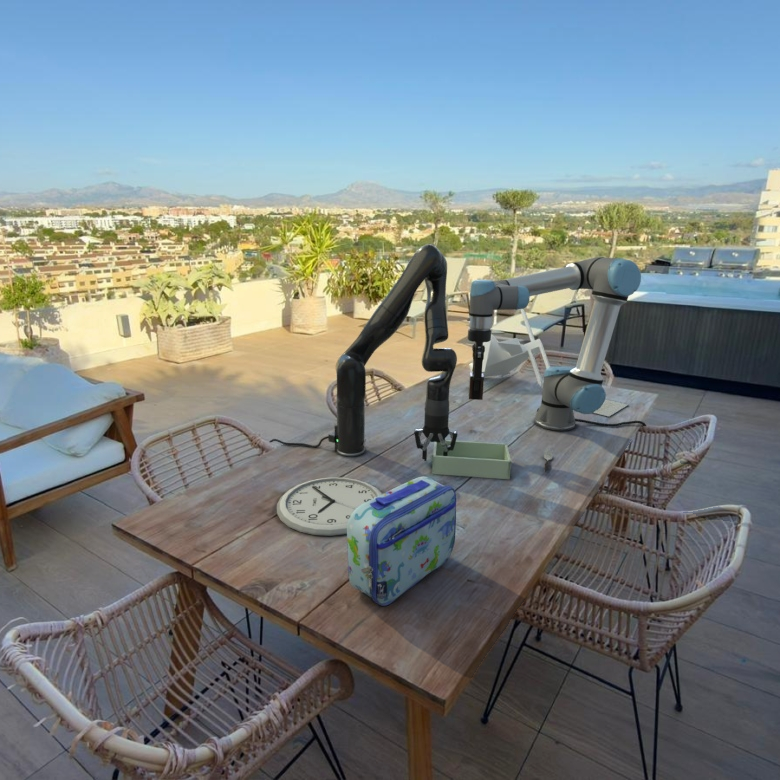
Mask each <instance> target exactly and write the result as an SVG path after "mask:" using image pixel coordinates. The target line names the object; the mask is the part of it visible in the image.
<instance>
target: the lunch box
mask: <svg viewBox="0 0 780 780" xmlns="http://www.w3.org/2000/svg"><path fill="white" fill-rule="evenodd" d="M456 524H457V494H456V490H455V488H454V487H453V486H451V485H444V484H441V483H440V482H438V481H436V480H434V479H432V478H431V477H428V476H422V475H421V476H419V477H416V478H413V479H411V480H408V481H407V482H404V483H402V484H400V485H398V486H396V487H394V488H392V489H390V490H388V491H386V492H383V494H381V495H380V496H378V497H376V498H374V499H372V500H370V501H368V502H365V503H363V504H362V505H360V506H358V507H357V508H356V509H355V510H354V511H353V513H352V514H351V516H350V518H349V521H348V525H347V534H346V545H347V546H346V548H347V570H348V572H347V573H348V581H349V583H350V585H351V587H353V588H354V589H356V590H358V591H361V592H362V593H364V594H365V595H366V596H368V597H369V598H371V599H372V601H373V602H374V603H375V604H378V605H379V606H383V607H386V606H388V605H390V604H392V603H394V601H396V600H397V599H398V598H399V597H400V596H402V595H403V594H404V593H406V592H407V591H408V590H410V589H411V588H413V587H414V586H415V585H417V584H418V583H419V582H421V580H422V579H424V577H426V576H427V575H430V573H432V572H434V571H435V570H436V569H438V568H440V567H441V566H442V565H444V563H446V562H447V561H448V559H449V558H450V556H451V554H452V552H453V549H454V546H455V542H456V529H457V525H456Z"/></svg>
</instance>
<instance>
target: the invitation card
mask: <svg viewBox="0 0 780 780" xmlns="http://www.w3.org/2000/svg"><path fill="white" fill-rule="evenodd" d="M628 406H629V404H627V403H623V402H618V401H614V400H609V399H606V398H605V401H604V403H603V405H602V406H601V407H600V408H599V409H598V410H596V411H595V412H593V413H592V414H596V415H600V416H604V417H608V418H609V417H611V416H613V415H614V414H616V413H617V412H619V411H621V410H623V409H624V408H626V407H628Z"/></svg>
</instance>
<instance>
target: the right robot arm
mask: <svg viewBox="0 0 780 780" xmlns="http://www.w3.org/2000/svg"><path fill="white" fill-rule="evenodd" d="M641 282H642V273H641V270H640V269H639V266H638V265H637V264H636V262H634V261H632V260H631V259H626V258H621V257H606V256H605V257H604V256H595V257H592V258H587V259H582V260H579V261H575V262H570V263H568V264H567V265H566V266H565V267H564V266H563V267H560V268H555V269H550V270H545V271H540V272H536V273H535V272H534V273H530V274H526V275H520V276H516V277H510V278H506V279H500V280H496V281H494V280H493V279H474V280H473V281H471V285H470V292H469V313H468V317H467V318H466V321H467V322H468V327H469V328H467V329H468V330H467V340H468V341H469V342H472V343H473V342H474V343H473V344H472V347H471V349H472V350H471V351H472V363H473V369H472V372H473V373H474V375H473V379H471V381H473V382H472V398H471V399H470V400H475V401H476V400H477V401H481V400H480V388H481V380H482V378H481V377H482V363H483V359H484V352H485V346H484V345H483V342H489V341H490V340H491V334H492V328H493V318H494V316H493V315H494V311H500V310H501V311H502V310H503V311H509V310H510V311H511V310H512V311H514V310H515V311H517V310H520V309H524V310H525V309H526V308H527V307H528V305H529V304H530V297H532V296H533V297H534V296H539V295H542V294H548V293H553V292H557V291H563V290H568V289H570V290H571V291H575V290H592V292H591V298H592V299H593V304H592V307H591V308H592V309H591V312H590V316H589V319H588V323H587V327H586V330H585V333H584V336H583V340H582V344H581V348H580V350H579V355H578V358H577V361H576V365H575V367H573V366H558V365H557V366H550V367H549V368H546V369H545V370H544V373H543V389H542V394H541V402H540V405H539V407H538V408H537V410H536V413H535V417H534V424H535V425H536V426H537V427H539V428H542V429H544V430H549V431H556V432H567V431H572V430H574V429H575V428H576V422H578V423H585V424H589V425H594V426H600V427H601V426H602V427H619V426H623V425H633V424H640V425H642V426H643V427H647V424H646V423H645V422H644V421H641V420H630V421H622V422H621V421H620V422H618V423H605V422H597V421H590V420H585V419H580V418H575V417H576V416H575V413H574V412H577V413H579V414H582V415H590V414H594V413H593V412H595V411H596V410H598V409H599V408H600V407H601V406H602V405H603V403H604V401H605V399H606V397H607V394H606V391H605V388H604V387H603V383H604V379H605V378H604V376H603V375H602V370H603V367H604V363H605V359H606V356H607V353H608V350H609V347H610V343H611V340H612V336H613V332H614V330H615V327H616V323H617V320H618V316H619V313H620V309H621V307H622V306H623V305H624V304H626V303H628V299H629V296H631V295H634V293H635V292H637V291H638V290H639V288H640V286H641Z"/></svg>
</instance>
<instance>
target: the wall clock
mask: <svg viewBox="0 0 780 780" xmlns="http://www.w3.org/2000/svg"><path fill="white" fill-rule="evenodd" d="M381 494H384V492H382V491H381V490H380V489H379V488H377V487H376V486H374V485H372V484H371V483H369V482H365V481H362V480H359V479H355V478H349V477H338V476H337V477H335V476H333V477H332V476H331V477H322V478H317V479H312V480H307V481H305V482H302V483H299V484H297V485H295V486H293V487H292V488H290V489H288V490H287V491H286V492H285V493H284V494H283V495H281V496H280V498H279V499H278V502H277V503H276V515H277V517H278V518H279V520H280V521H281V522H282V523H283V524H285V525H286V526H287V527H288V528H290V529H293V530H295V531H297V532H299V533H303V534H308V535H312V536H327V537H328V536H329V537H331V536H332V537H333V536H342V535H347V525H348V521H349V518H350V516H351V514H352V513H353V511H354V510H355V509H356V508H357V507H358V506H360V505H362V504H363V503H365V502H368V501H370V500H372V499H374V498H376V497H378V496H380V495H381Z"/></svg>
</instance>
